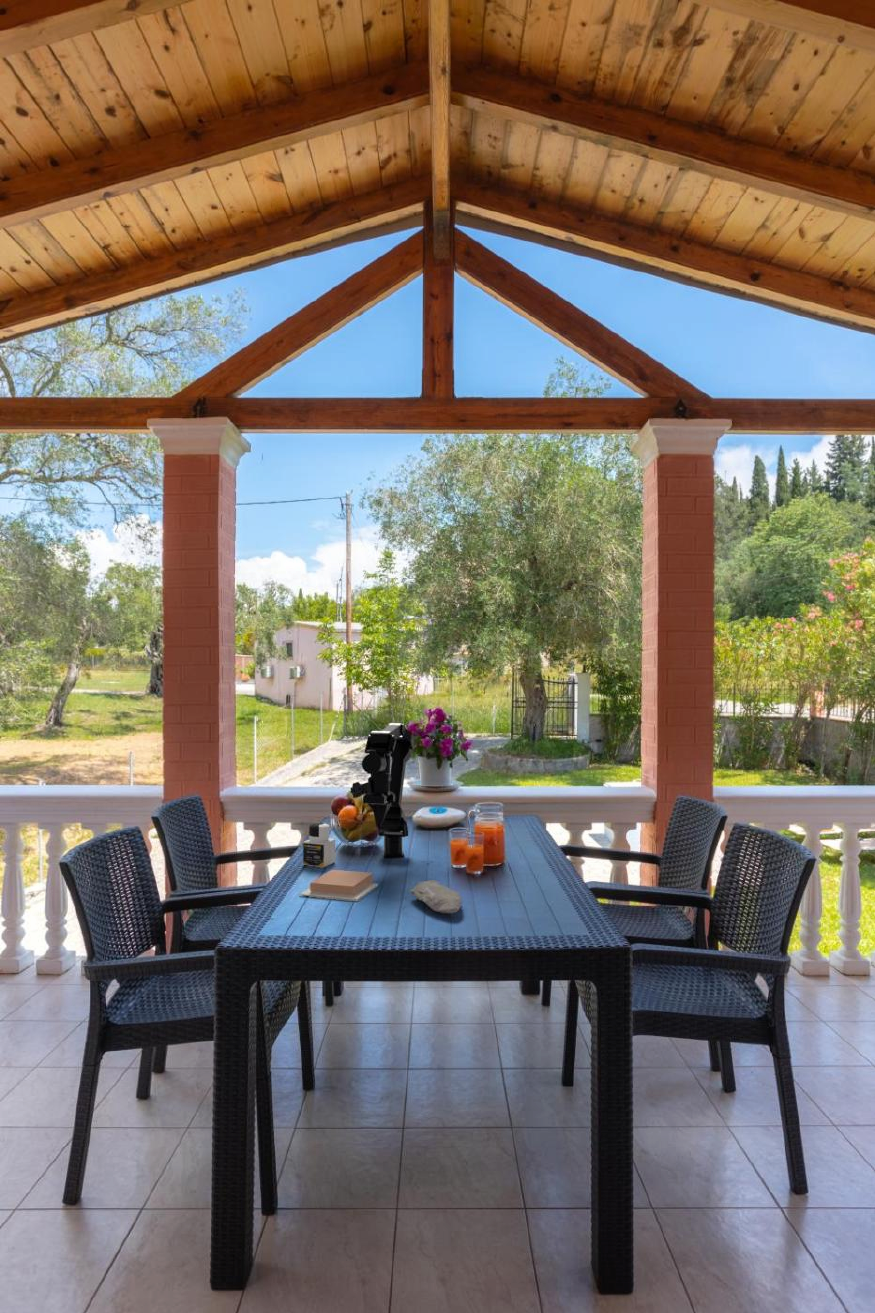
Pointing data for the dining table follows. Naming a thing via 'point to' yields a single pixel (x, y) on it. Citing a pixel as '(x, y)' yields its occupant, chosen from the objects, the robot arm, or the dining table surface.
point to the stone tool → (437, 896)
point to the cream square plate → (341, 897)
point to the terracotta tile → (341, 882)
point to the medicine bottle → (319, 846)
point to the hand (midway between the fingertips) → (378, 827)
